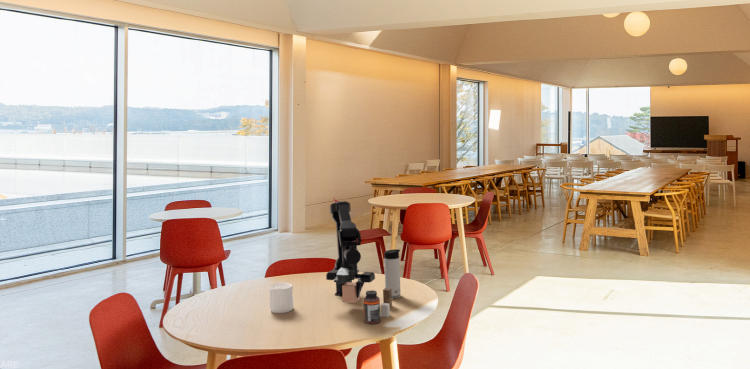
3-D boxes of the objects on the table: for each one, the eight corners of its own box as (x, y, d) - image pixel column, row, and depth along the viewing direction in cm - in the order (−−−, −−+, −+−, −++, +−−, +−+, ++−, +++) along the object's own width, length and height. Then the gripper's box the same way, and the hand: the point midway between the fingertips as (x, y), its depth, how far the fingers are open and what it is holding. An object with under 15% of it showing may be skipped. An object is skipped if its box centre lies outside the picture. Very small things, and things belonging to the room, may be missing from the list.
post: (383, 307, 229) (383, 289, 229) (385, 305, 232) (385, 288, 231) (389, 307, 228) (389, 290, 228) (391, 305, 231) (391, 288, 230)
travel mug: (400, 299, 239) (398, 251, 237) (384, 298, 241) (382, 251, 238) (402, 294, 245) (400, 248, 243) (387, 294, 247) (385, 248, 245)
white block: (381, 316, 218) (380, 305, 218) (383, 314, 221) (383, 303, 220) (387, 317, 217) (387, 305, 217) (390, 315, 220) (389, 303, 219)
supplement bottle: (363, 319, 216) (362, 289, 215) (379, 318, 216) (378, 288, 215) (364, 324, 210) (363, 294, 209) (381, 323, 210) (380, 293, 209)
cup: (274, 315, 225) (272, 290, 224) (266, 308, 233) (265, 284, 232) (297, 310, 229) (296, 286, 228) (288, 304, 238) (287, 281, 237)
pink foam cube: (342, 302, 227) (342, 285, 226) (348, 298, 232) (347, 282, 231) (355, 303, 225) (354, 286, 225) (360, 299, 230) (359, 282, 229)
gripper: (319, 262, 223) (321, 301, 224) (364, 264, 216) (365, 305, 218) (331, 255, 233) (333, 293, 235) (374, 257, 226) (376, 296, 228)
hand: (351, 297), depth 229 cm, fingers closed on pink foam cube, 5 cm apart
